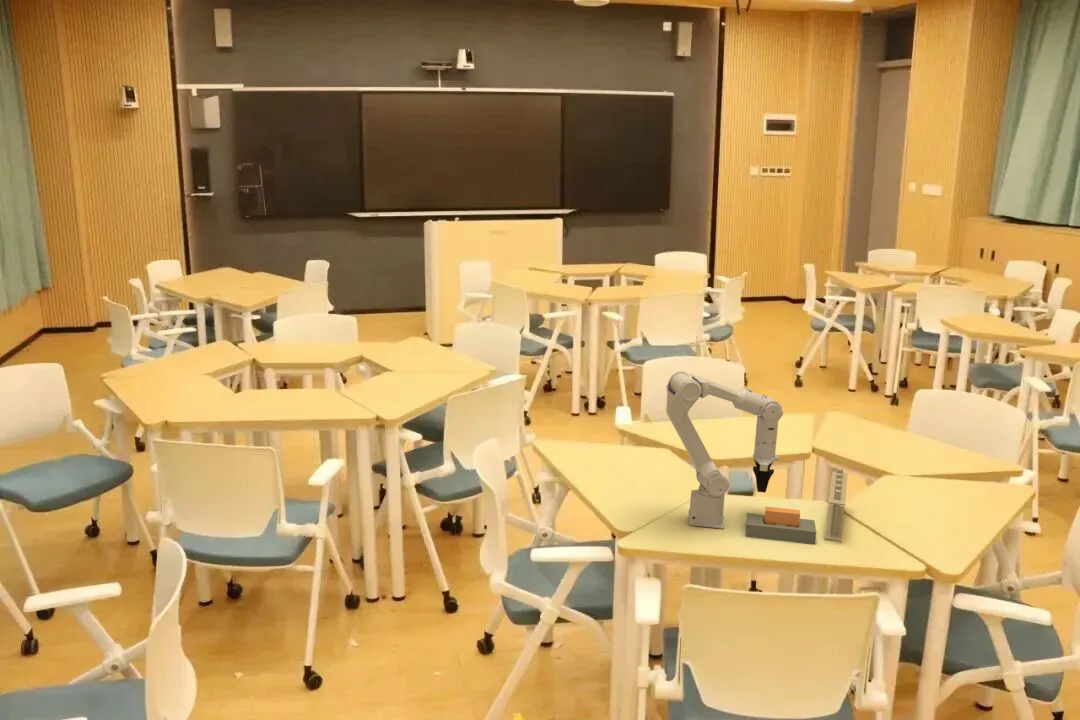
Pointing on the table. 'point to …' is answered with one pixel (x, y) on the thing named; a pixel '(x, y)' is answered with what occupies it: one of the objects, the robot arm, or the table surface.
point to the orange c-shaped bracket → (782, 516)
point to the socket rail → (780, 530)
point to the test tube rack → (836, 506)
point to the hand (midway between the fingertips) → (761, 486)
